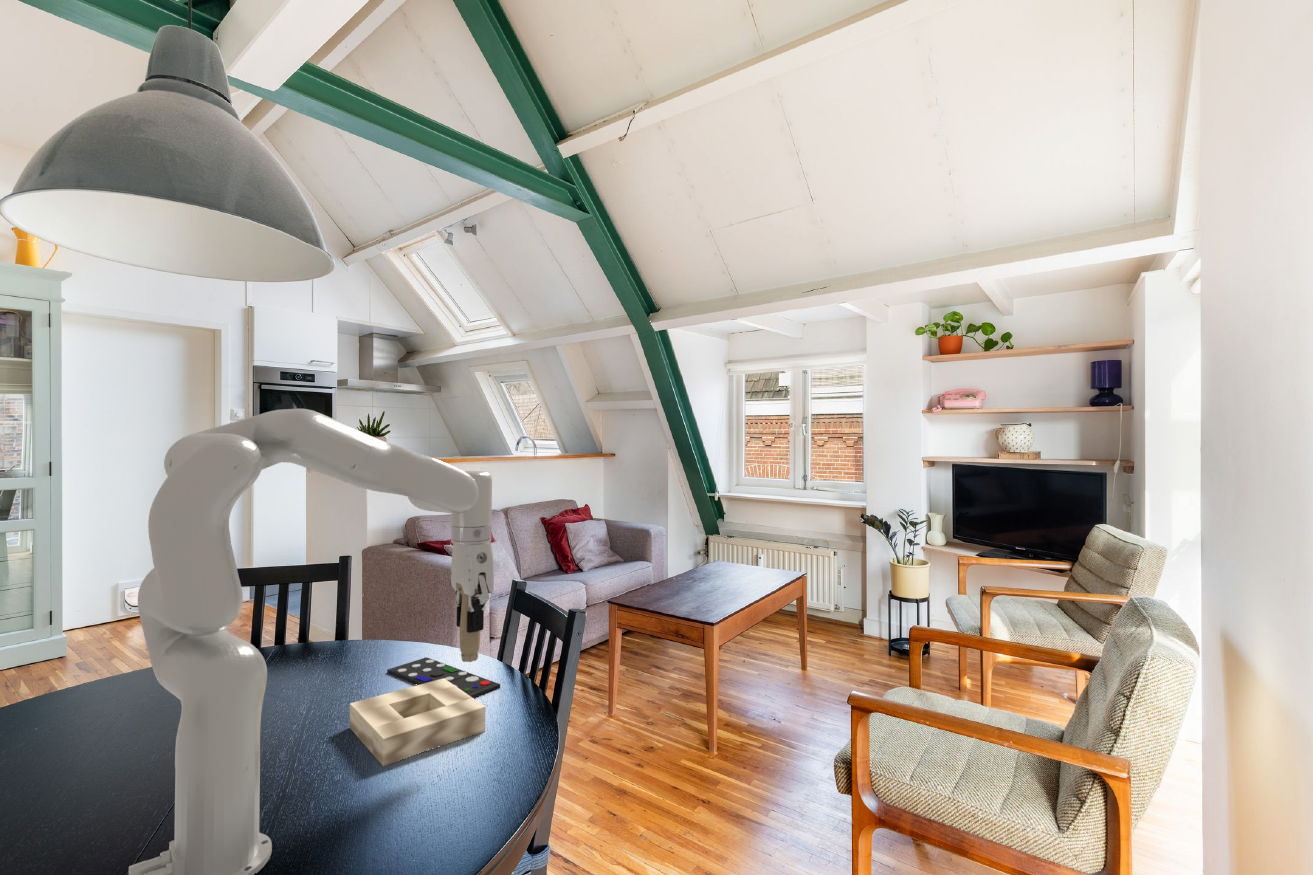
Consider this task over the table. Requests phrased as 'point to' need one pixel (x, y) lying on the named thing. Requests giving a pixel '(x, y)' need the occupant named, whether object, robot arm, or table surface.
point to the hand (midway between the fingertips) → (469, 627)
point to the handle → (467, 640)
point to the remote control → (443, 676)
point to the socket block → (415, 720)
